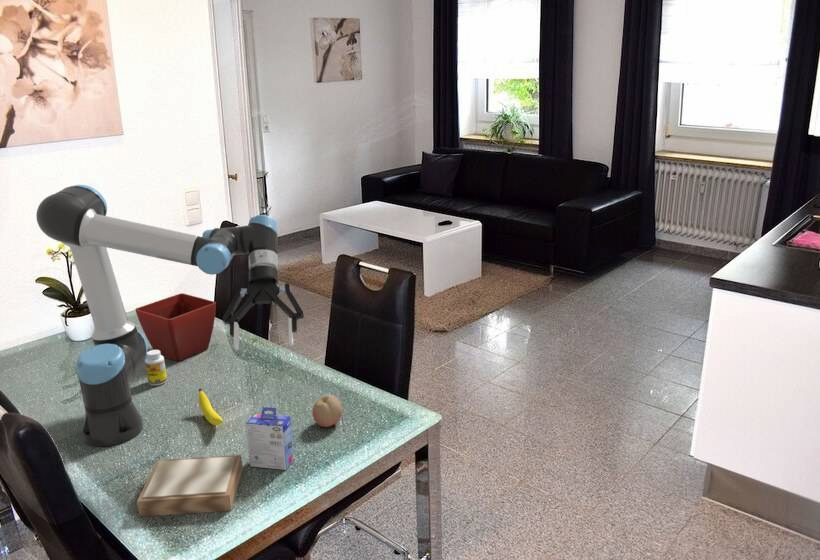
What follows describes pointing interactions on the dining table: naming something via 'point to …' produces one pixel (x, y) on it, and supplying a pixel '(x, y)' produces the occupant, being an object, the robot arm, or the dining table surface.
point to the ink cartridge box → (270, 440)
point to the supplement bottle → (155, 368)
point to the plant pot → (178, 325)
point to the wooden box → (191, 486)
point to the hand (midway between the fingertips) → (263, 346)
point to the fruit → (327, 411)
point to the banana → (208, 410)
